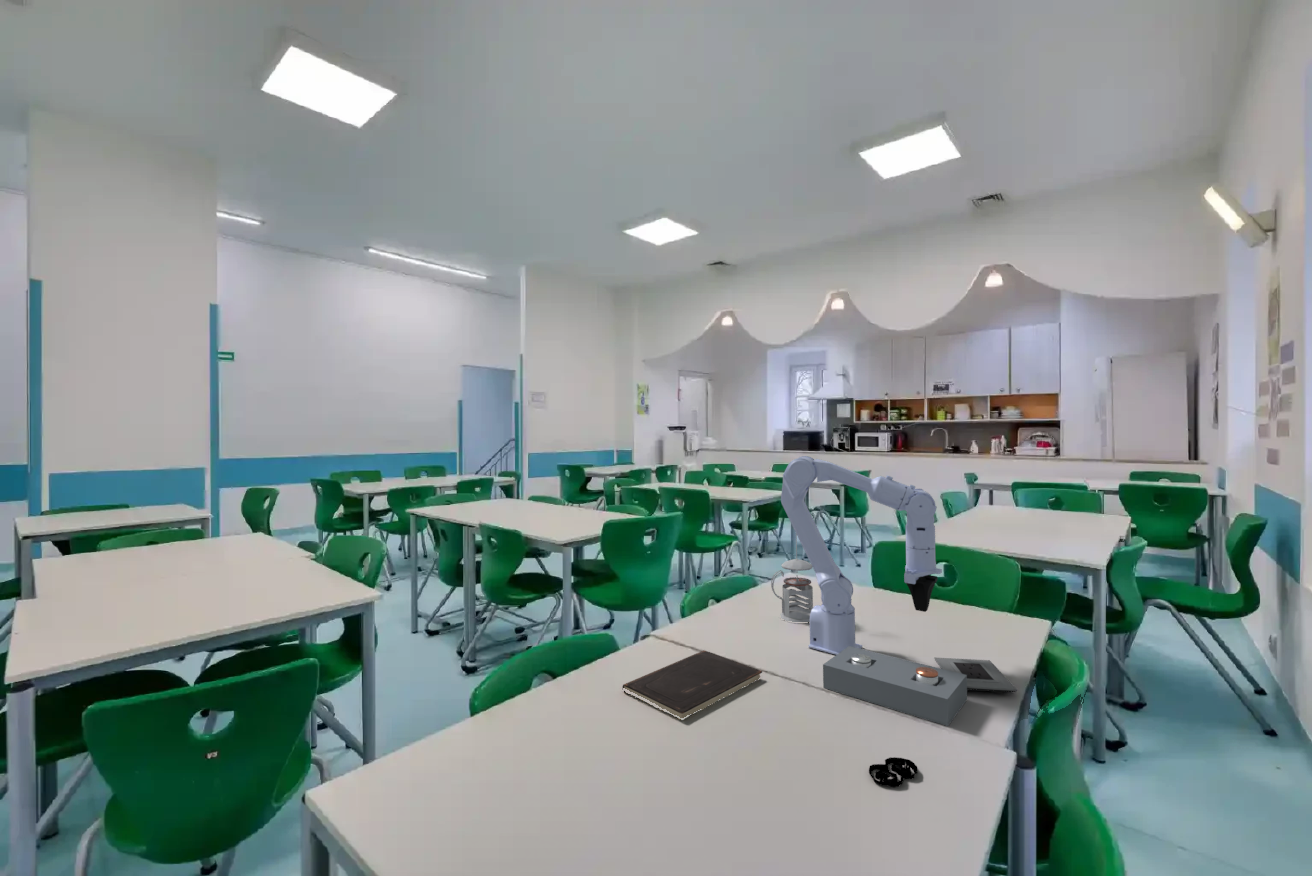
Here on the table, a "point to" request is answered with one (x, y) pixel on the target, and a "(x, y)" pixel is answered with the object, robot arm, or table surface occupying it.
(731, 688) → the hardcover book
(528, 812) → the table surface
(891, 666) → the console
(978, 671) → the electrical outlet
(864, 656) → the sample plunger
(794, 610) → the french press
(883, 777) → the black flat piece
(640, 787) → the table surface
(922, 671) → the copper-capped canister
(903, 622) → the table surface
